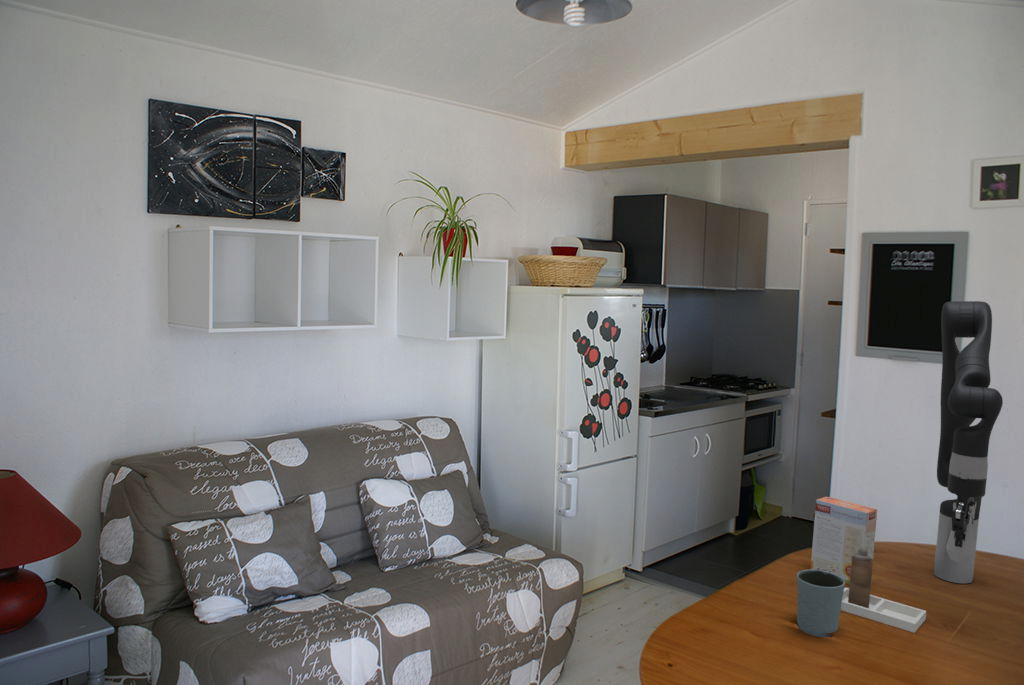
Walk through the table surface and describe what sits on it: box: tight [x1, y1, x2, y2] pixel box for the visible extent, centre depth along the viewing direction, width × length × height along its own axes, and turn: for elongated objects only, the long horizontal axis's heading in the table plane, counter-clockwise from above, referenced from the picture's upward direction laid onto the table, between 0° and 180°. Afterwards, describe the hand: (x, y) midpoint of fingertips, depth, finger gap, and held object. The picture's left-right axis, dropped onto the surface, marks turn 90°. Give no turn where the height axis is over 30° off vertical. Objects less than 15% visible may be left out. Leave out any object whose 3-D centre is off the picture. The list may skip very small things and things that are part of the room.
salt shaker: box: [946, 508, 976, 563], centre depth 182 cm, size 6×6×13 cm
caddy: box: [840, 587, 927, 634], centre depth 186 cm, size 10×18×3 cm, turn 49°
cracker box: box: [810, 496, 878, 586], centre depth 207 cm, size 14×6×21 cm, turn 40°
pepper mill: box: [848, 547, 874, 609], centre depth 189 cm, size 5×5×15 cm
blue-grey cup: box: [796, 568, 846, 638], centre depth 178 cm, size 10×10×12 cm
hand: (960, 546), depth 182 cm, fingers closed on salt shaker, 3 cm apart
